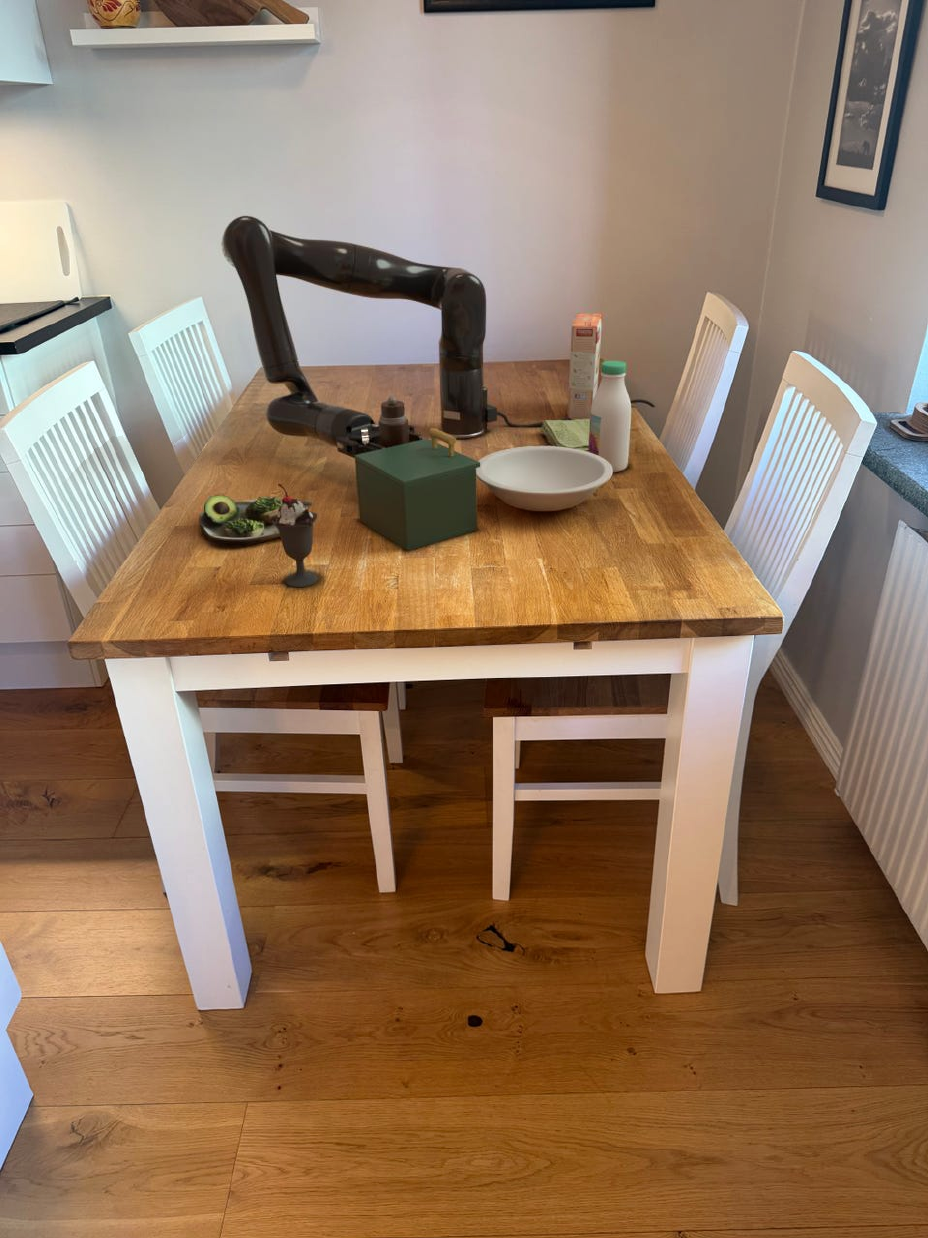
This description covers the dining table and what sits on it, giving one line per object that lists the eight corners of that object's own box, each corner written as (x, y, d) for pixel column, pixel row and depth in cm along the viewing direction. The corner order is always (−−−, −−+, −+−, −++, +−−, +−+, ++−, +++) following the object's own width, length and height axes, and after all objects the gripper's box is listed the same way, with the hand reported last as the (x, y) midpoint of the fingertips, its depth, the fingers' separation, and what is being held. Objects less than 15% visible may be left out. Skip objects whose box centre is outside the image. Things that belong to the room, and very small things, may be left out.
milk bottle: (630, 462, 181) (638, 359, 171) (623, 475, 175) (631, 369, 165) (592, 458, 183) (597, 356, 174) (583, 471, 177) (588, 366, 167)
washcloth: (560, 459, 183) (560, 443, 182) (538, 432, 198) (538, 418, 197) (623, 454, 185) (624, 439, 183) (596, 428, 200) (597, 414, 199)
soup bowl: (607, 534, 151) (609, 496, 148) (463, 525, 155) (462, 488, 152) (613, 482, 171) (615, 448, 168) (486, 476, 176) (486, 442, 172)
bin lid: (427, 442, 160) (426, 418, 158) (480, 467, 148) (480, 441, 146) (354, 459, 152) (352, 435, 150) (404, 486, 141) (402, 460, 139)
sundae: (280, 571, 141) (268, 478, 133) (325, 569, 141) (315, 476, 134) (276, 591, 135) (264, 495, 128) (322, 588, 135) (312, 492, 128)
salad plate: (300, 496, 168) (297, 472, 166) (330, 531, 154) (327, 506, 151) (193, 515, 161) (188, 490, 159) (213, 554, 147) (209, 527, 144)
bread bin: (426, 502, 164) (423, 443, 159) (477, 530, 153) (476, 468, 148) (359, 520, 158) (354, 460, 152) (407, 551, 146) (404, 486, 141)
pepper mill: (402, 488, 171) (397, 390, 162) (417, 497, 167) (412, 396, 158) (378, 495, 168) (371, 395, 159) (392, 503, 164) (386, 402, 155)
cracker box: (593, 422, 204) (598, 325, 194) (566, 421, 205) (569, 324, 195) (598, 404, 216) (603, 312, 206) (572, 403, 217) (576, 311, 207)
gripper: (312, 417, 166) (370, 436, 155) (373, 400, 174) (432, 417, 164) (316, 457, 169) (373, 478, 159) (376, 439, 178) (433, 458, 168)
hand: (403, 447), depth 162 cm, fingers open, 8 cm apart
